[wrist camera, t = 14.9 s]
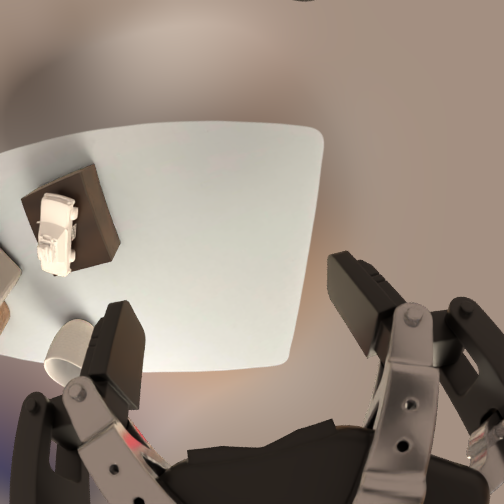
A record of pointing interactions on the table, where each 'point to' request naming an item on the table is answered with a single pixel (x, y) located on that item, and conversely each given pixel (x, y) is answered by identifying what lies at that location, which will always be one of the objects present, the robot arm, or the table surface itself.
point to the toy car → (56, 233)
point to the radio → (7, 275)
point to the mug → (68, 351)
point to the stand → (80, 217)
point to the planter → (4, 316)
